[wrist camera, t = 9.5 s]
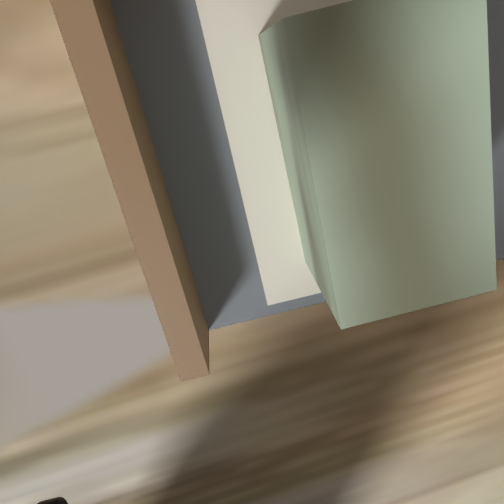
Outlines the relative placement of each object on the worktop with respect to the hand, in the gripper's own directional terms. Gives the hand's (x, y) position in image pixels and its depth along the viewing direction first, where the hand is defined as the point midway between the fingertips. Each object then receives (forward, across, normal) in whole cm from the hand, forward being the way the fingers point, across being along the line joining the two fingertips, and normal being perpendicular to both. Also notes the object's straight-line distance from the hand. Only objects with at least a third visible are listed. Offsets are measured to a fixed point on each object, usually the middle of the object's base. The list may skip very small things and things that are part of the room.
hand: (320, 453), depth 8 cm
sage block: (+10, -4, -3) cm, 11 cm away
